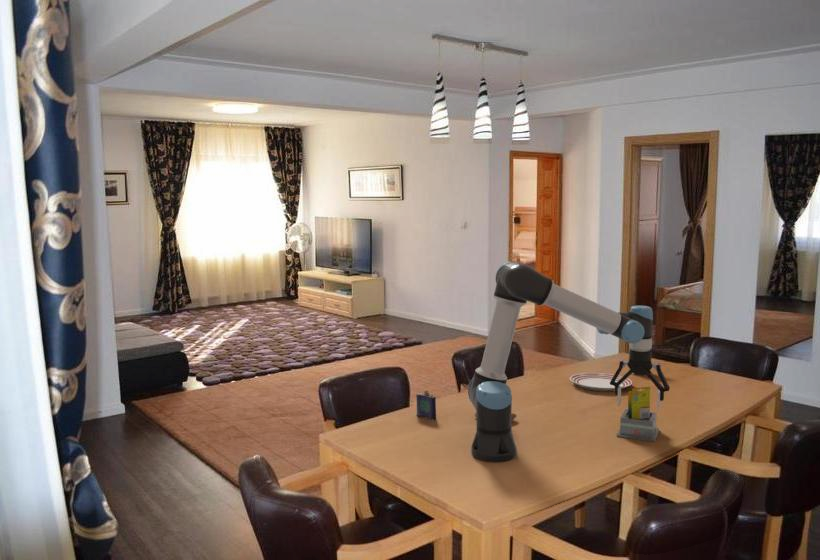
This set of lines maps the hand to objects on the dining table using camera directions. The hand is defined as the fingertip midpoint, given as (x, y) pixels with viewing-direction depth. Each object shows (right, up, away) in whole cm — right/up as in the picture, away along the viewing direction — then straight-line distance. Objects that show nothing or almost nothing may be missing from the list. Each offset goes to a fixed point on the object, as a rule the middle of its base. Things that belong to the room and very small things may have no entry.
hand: (638, 406), depth 233 cm
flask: (-76, -9, +23) cm, 80 cm away
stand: (0, -10, +1) cm, 10 cm away
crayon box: (0, -4, +1) cm, 4 cm away
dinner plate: (+5, -3, +63) cm, 63 cm away
